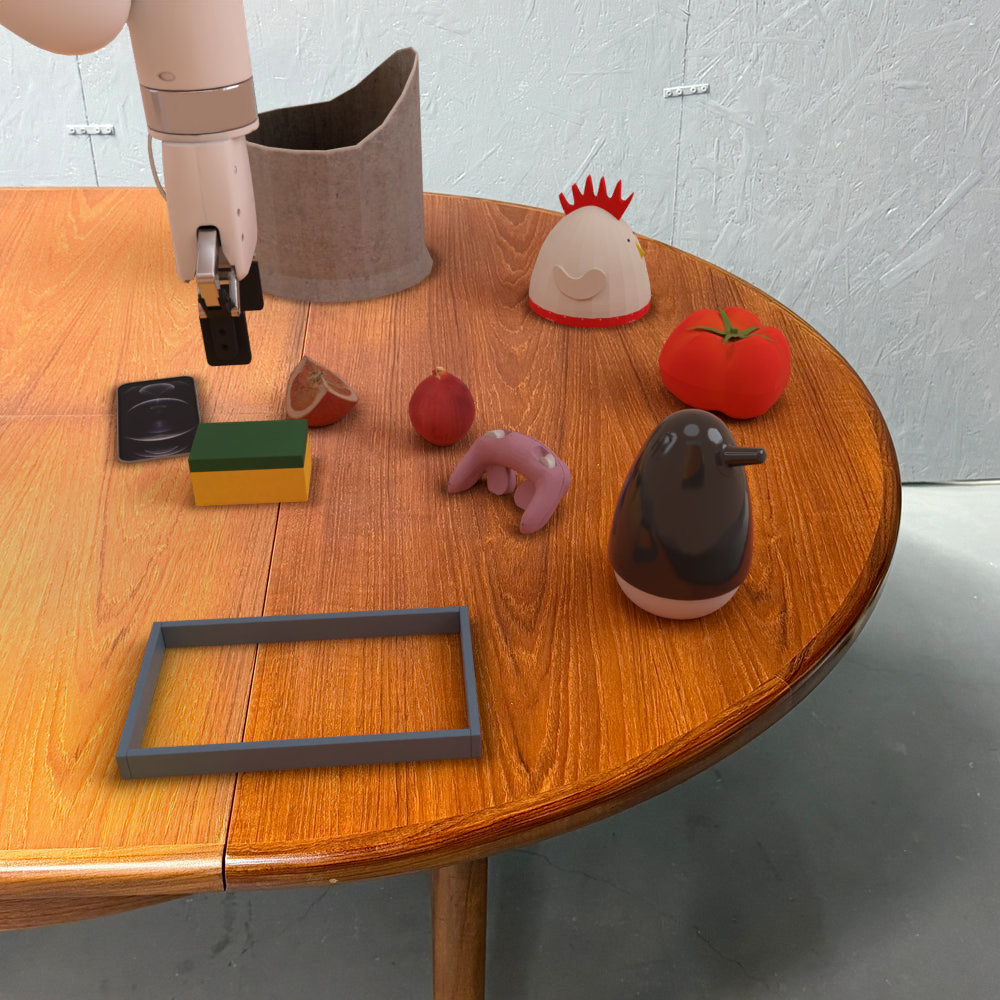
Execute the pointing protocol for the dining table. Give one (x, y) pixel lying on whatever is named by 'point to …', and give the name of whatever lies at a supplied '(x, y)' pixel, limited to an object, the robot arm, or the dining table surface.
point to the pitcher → (341, 190)
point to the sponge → (250, 462)
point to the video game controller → (500, 460)
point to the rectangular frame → (305, 750)
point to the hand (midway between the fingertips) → (237, 335)
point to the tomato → (726, 362)
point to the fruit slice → (318, 394)
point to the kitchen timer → (591, 264)
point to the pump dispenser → (685, 518)
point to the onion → (442, 408)
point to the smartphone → (156, 419)
